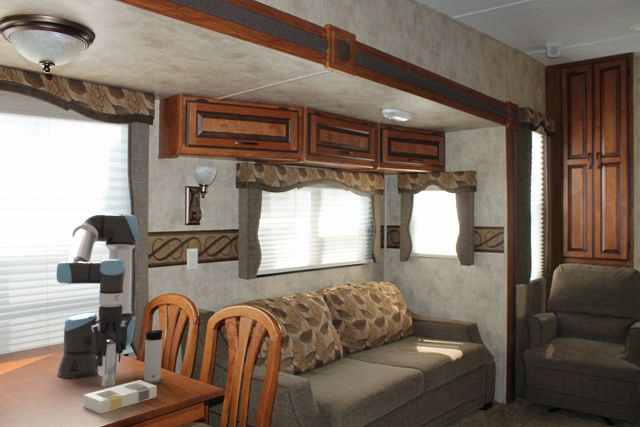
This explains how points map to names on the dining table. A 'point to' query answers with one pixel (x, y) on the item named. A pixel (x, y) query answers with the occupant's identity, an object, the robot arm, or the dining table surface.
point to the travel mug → (153, 356)
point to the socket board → (119, 396)
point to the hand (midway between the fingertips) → (108, 373)
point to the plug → (109, 364)
